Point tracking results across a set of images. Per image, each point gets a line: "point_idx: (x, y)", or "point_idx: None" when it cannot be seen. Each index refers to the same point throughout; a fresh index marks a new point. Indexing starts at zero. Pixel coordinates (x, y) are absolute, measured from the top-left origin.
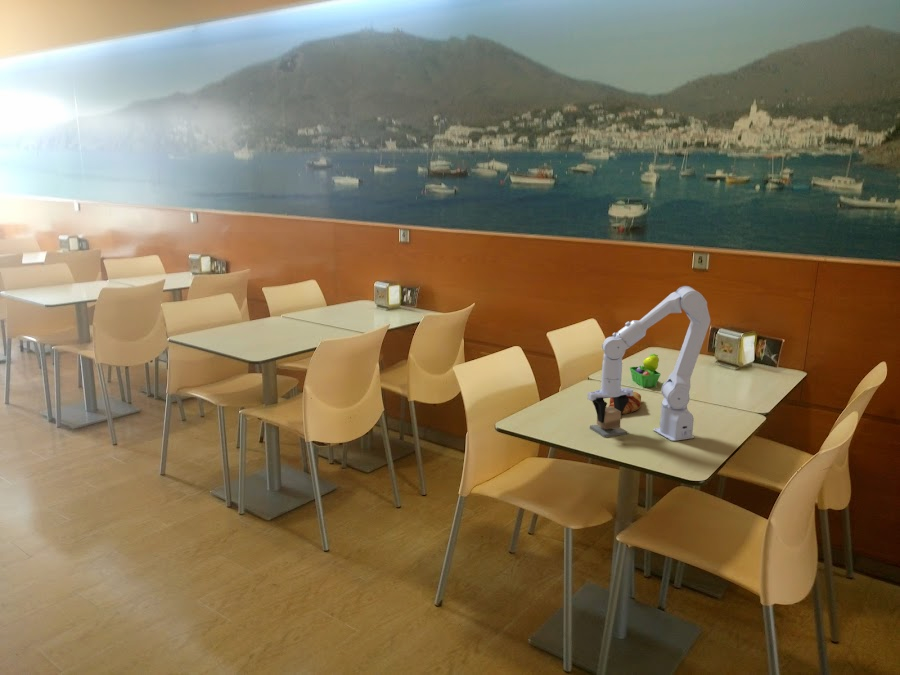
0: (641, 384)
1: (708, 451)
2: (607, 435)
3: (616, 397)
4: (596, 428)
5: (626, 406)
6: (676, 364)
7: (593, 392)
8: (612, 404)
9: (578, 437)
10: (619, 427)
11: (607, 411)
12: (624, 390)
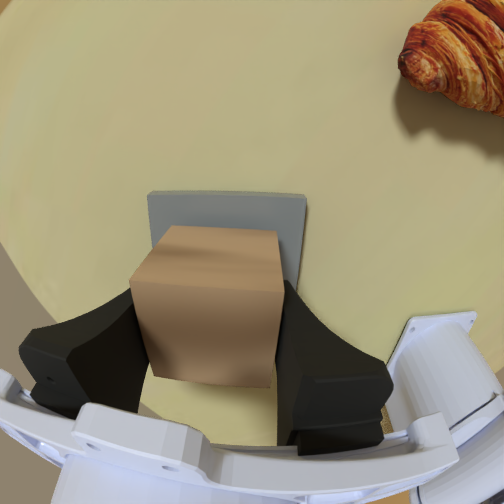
0: None
1: (382, 426)
2: None
3: (289, 422)
4: None
5: (490, 105)
6: None
7: (7, 419)
8: (438, 47)
9: (74, 272)
10: (293, 274)
11: (176, 361)
12: (355, 500)
